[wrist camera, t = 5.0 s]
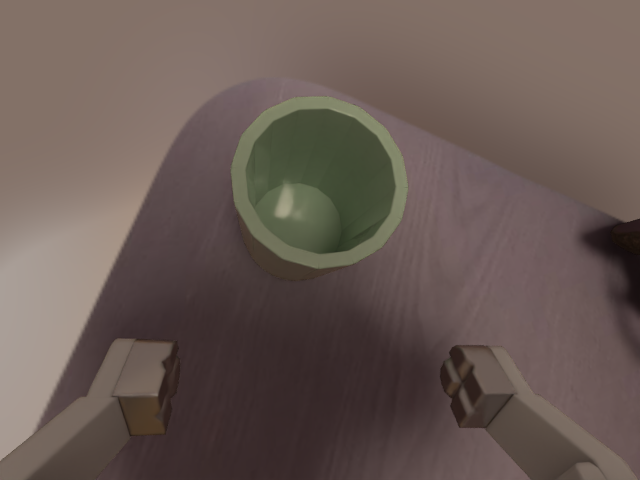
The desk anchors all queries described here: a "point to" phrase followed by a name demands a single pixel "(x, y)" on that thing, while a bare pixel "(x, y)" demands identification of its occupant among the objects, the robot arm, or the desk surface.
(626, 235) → the sculpture
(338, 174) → the tumbler
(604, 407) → the desk surface
